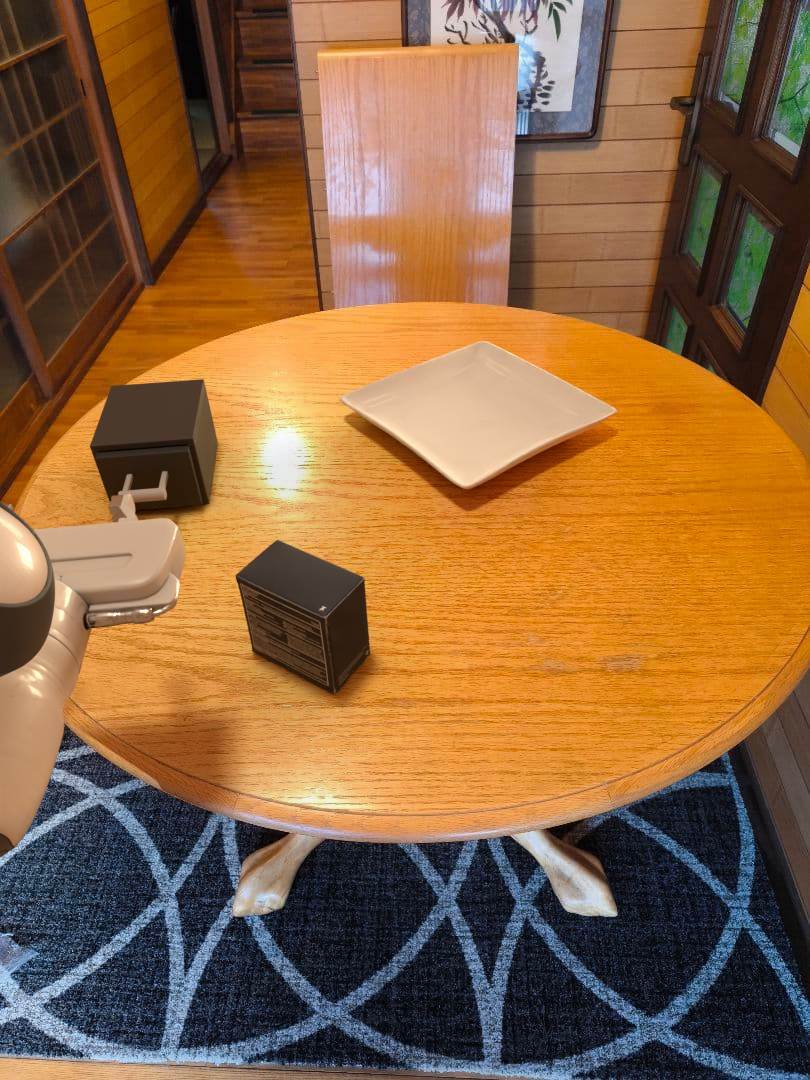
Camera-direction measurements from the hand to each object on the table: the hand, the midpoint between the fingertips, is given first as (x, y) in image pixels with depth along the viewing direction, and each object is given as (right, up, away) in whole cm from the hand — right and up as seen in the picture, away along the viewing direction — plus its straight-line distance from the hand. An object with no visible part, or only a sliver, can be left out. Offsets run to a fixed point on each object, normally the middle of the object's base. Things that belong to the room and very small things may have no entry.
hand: (65, 505), depth 62 cm
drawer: (-2, +4, +32) cm, 33 cm away
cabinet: (-3, +6, +36) cm, 37 cm away
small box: (+18, -14, +14) cm, 27 cm away
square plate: (+37, +13, +43) cm, 59 cm away
